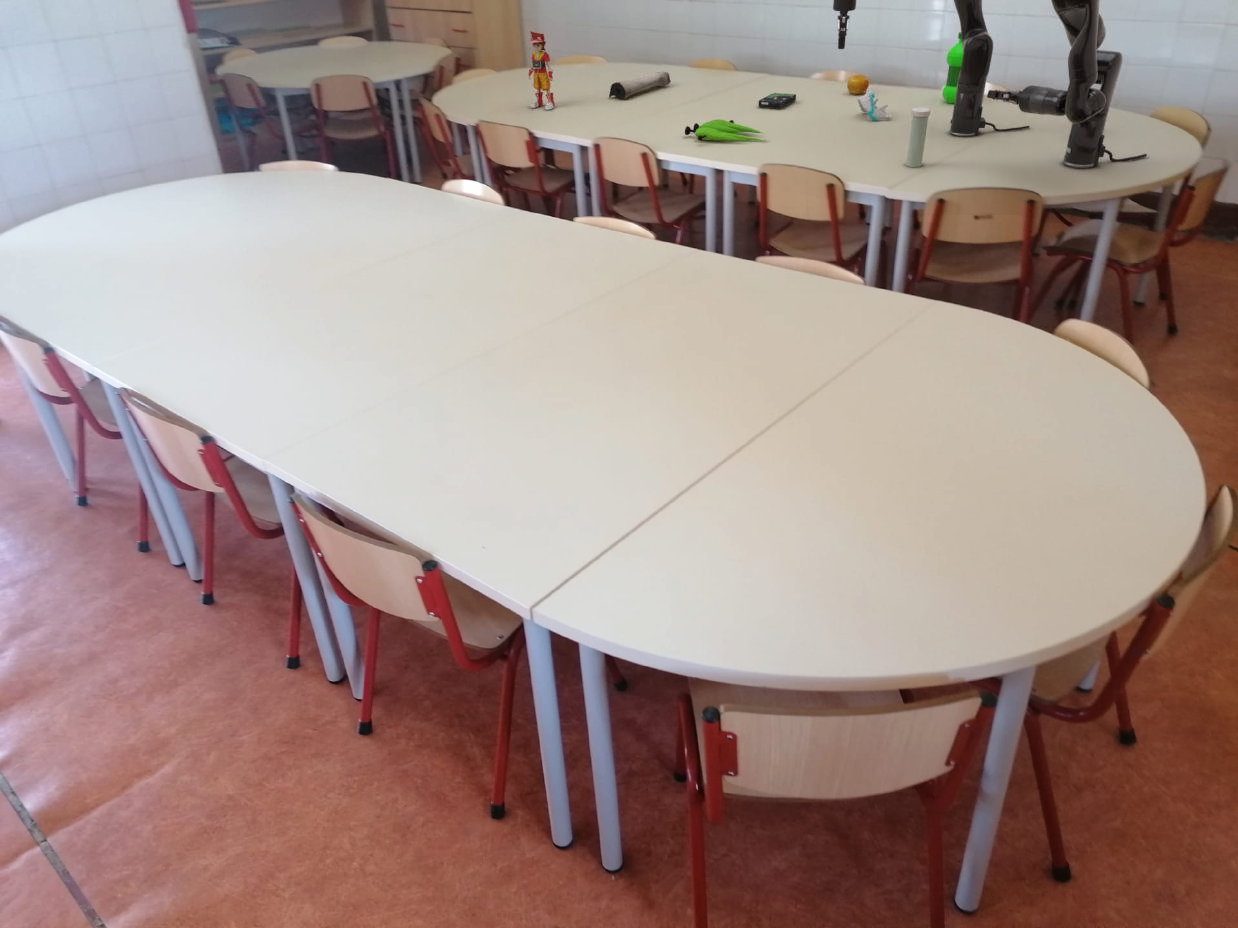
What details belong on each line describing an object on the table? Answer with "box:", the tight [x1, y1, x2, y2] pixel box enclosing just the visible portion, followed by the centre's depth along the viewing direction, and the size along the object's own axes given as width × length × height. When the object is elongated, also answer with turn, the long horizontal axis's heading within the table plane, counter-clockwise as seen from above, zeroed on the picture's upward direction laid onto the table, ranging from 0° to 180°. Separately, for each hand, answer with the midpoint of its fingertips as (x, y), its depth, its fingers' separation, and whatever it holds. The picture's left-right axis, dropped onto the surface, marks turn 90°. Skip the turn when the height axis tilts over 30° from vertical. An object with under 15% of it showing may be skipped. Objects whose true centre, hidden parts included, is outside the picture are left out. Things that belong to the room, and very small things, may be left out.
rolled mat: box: [608, 71, 672, 101], centre depth 395 cm, size 30×9×10 cm
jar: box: [905, 116, 929, 168], centre depth 287 cm, size 5×5×17 cm
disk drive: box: [758, 92, 797, 110], centre depth 365 cm, size 10×3×15 cm
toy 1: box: [527, 31, 556, 111], centre depth 374 cm, size 12×9×30 cm
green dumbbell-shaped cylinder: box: [942, 31, 963, 104], centre depth 348 cm, size 10×10×25 cm
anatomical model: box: [857, 89, 892, 122], centre depth 341 cm, size 15×10×10 cm
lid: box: [911, 107, 931, 117], centre depth 283 cm, size 6×6×2 cm
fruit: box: [846, 74, 870, 95], centre depth 372 cm, size 8×8×8 cm
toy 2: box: [684, 119, 767, 142], centre depth 329 cm, size 28×5×30 cm
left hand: (841, 46), depth 311 cm, fingers open, 8 cm apart
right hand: (998, 95), depth 278 cm, fingers open, 8 cm apart
